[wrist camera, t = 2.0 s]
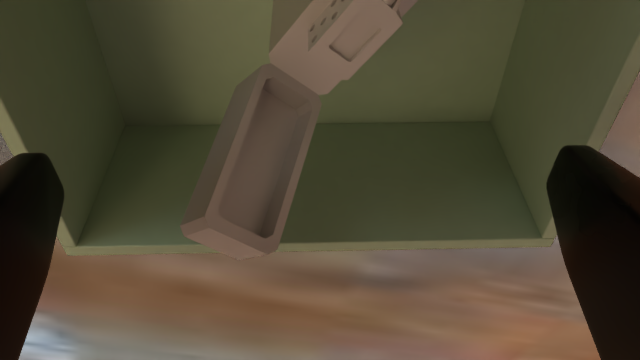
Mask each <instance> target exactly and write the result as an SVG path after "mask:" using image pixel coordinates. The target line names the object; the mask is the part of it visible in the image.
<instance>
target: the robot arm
mask: <svg viewBox="0 0 640 360" xmlns="http://www.w3.org/2000/svg"><path fill="white" fill-rule="evenodd" d="M546 190H547V195H548V199H549V203H550V207H551V211H552V215H553V219H554V223H555V227H556V231H557V235H558V239H559V243H560V247H561V251H562V255H563V258H564V262H565V265H566V268H567V271H568V274H569V277H570V279H571V282H572V284H573V287H574V290H575V292H576V295H577V298H578V300H579V303H580V305H581V308H582V311H583V313H584V316H585V319H586V321H587V324H588V327H589V329H590V332H591V334H592V337H593V340H594V342H595V345H596V348H597V350H598V353H599V355H600V358H601V360H640V178H639V177H637V176H636V175H634V174H633V173H631V172H630V171H628V170H626V169H625V168H623V167H622V166H620V165H619V164H617V163H615V162H614V161H612V160H611V159H609V158H608V157H606V156H604V155H603V154H601V153H600V152H598V151H597V150H595V149H593V148H592V147H590V146H588V145H566V146H564V147H562V148H561V149H560V151H559V153H558V155H557V157H556V160H555V162H554V164H553V167H552V169H551V171H550V173H549V176H548V178H547V183H546ZM64 195H65V194H64V188H63V185H62V183H61V181H60V179H59V176H58V174H57V172H56V170H55V168H54V166H53V164H52V162H51V160H50V158H49V157H48V156H47V155H46V154H44V153H20V154H18V155H16V156H14V157H13V158H11V159H10V160H8V161H7V162H5V163H4V164H2V165H1V166H0V360H18V359H19V356H20V353H21V350H22V347H23V345H24V342H25V339H26V336H27V333H28V330H29V327H30V325H31V322H32V319H33V316H34V313H35V310H36V307H37V305H38V302H39V299H40V296H41V293H42V290H43V287H44V284H45V281H46V278H47V275H48V271H49V267H50V263H51V259H52V254H53V249H54V245H55V240H56V235H57V231H58V226H59V222H60V217H61V212H62V208H63V203H64Z"/></svg>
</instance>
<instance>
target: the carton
mask: <svg viewBox="0 0 640 360" xmlns="http://www.w3.org/2000/svg"><path fill="white" fill-rule="evenodd" d="M272 10H273V0H0V132H1V134H2V136H3V138H4V140H5V141H6V143H7V145H8V147H9V149H10V151H11V153H12V154H13V156H16V155H18V154H20V153H44V154H46V155H47V156H48V157H49V158H50V160H51V162H52V164H53V166H54V168H55V170H56V172H57V174H58V176H59V179H60V181H61V183H62V185H63V188H64V194H65V195H64V203H63V208H62V212H61V217H60V222H59V226H58V231H57V235H56V236H57V237H58V239H59V241H60V243H61V245H62V246H63V249H64V250H65V252H66V254H67V255H68V256H79V255H134V254H189V253H221V252H218V251H216V250H214V249H212V248H209V247H207V246H205V245H202V244H200V243H198V242H195V241H193V240H191V239H189V238H186V237H184V235H183V232H182V230H181V228H180V224H181V222H182V219H183V217H184V214H185V212H186V209H187V207H188V205H189V202H190V200H191V197H192V195H193V192H194V190H195V187H196V185H197V182H198V180H199V177H200V175H201V172H202V170H203V167H204V165H205V162H206V160H207V157H208V155H209V152H210V150H211V147H212V145H213V142H214V140H215V137H216V135H217V132H218V130H219V127H220V125H221V122H222V120H223V117H224V115H225V112H226V110H227V108H228V105H229V103H230V100H231V98H232V95H233V93H234V90H235V88H236V86H237V85H238V84H239V83H241V82H242V81H243V80H244V79H246V78H247V77H248V76H249V75H251V74H252V73H253V72H254V71H256V70H257V69H258V68H259V67H261V66H262V65H265V64H269V63H270V59H269V44H270V33H271V21H272ZM401 18H402V21H403V24H402V25H401V26H400V27H399V28H398V29H397V30H396V31H395V32H394V33H393V35H392V36H391V37H390V38H389V39H388V40H387V41H386V42H385V43H384V44H383V45H382V46H381V47H380V48H379V49H378V50H377V51H376V52H375V53H374V54H373V55H372V56H371V57H370V58H369V59H368V60H367V61H366V62H365V63H364V64H363V65H362V66H361V67H360V68H359V69H358V70H357V71H356V72H355V73H354V74H353V76H352V77H351V78H350V79H349V80H341V81H340V82H339V83H338V84H337V85H336V86H335V87H334V88H333V89H332V90H331V91H330V92H329V93H328V94H323V95H319V98H320V100H321V103H322V105H321V109H320V112H319V115H318V118H317V122H316V125H315V128H314V131H313V135H312V138H311V141H310V144H309V148H308V151H307V154H306V158H305V161H304V164H303V167H302V171H301V174H300V177H299V180H298V184H297V187H296V190H295V193H294V197H293V200H292V203H291V206H290V210H289V213H288V216H287V220H286V223H285V226H284V229H283V233H282V236H281V239H280V242H279V246H278V249H277V250H276V251H274V252H298V251H353V250H408V249H462V248H517V247H550V246H551V245H552V243H553V241H554V238H555V237H556V235H557V231H556V227H555V223H554V219H553V215H552V211H551V207H550V203H549V199H548V195H547V190H546V183H547V178H548V176H549V173H550V171H551V169H552V167H553V164H554V162H555V160H556V157H557V155H558V153H559V151H560V149H561V148H562V147H564V146H566V145H588V146H590V147H592V148H593V149H595V150H597V151H598V152H599V150H600V148H601V146H602V144H603V142H604V140H605V138H606V136H607V134H608V132H609V130H610V128H611V126H612V124H613V122H614V120H615V118H616V116H617V114H618V112H619V110H620V109H621V107H622V105H623V103H624V101H625V99H626V97H627V95H628V93H629V91H630V89H631V87H632V85H633V83H634V81H635V79H636V77H637V75H638V73H639V71H640V0H418V1H417V2H416V3H415V4H414V5H413V6H412V7H411V8H410V9H409V10H408V11H407V12H406V13H405V14H404V15H403V16H402V17H401Z"/></svg>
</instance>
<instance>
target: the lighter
mask: <svg viewBox="0 0 640 360" xmlns="http://www.w3.org/2000/svg"><path fill="white" fill-rule="evenodd" d="M417 1H418V0H273V10H272V21H271V33H270V44H269V59H270V63H269V64H265V65H262V66H261V67H259V68H258V69H257V70H256V71H254V72H253V73H252V74H251V75H249V76H248V77H247V78H246V79H244V80H243V81H242V82H241V83H239V84H238V85H237V86H236V88H235V90H234V93H233V95H232V98H231V100H230V103H229V105H228V108H227V110H226V112H225V115H224V117H223V120H222V122H221V125H220V127H219V130H218V132H217V135H216V137H215V140H214V142H213V145H212V147H211V150H210V152H209V155H208V157H207V160H206V162H205V165H204V167H203V170H202V172H201V175H200V177H199V180H198V182H197V185H196V187H195V190H194V192H193V195H192V197H191V200H190V202H189V205H188V207H187V209H186V212H185V214H184V217H183V219H182V222H181V224H180V228H181V230H182V232H183V235H184V237H186V238H189V239H191V240H193V241H195V242H198V243H200V244H202V245H205V246H207V247H209V248H212V249H214V250H216V251H218V252H221V253H223V254H225V255H228V256H230V257H232V258H235V259H237V260H244V259H249V258H254V257H259V256H264V255H268V254H270V253H272V252H274V251H276V250H277V249H278V246H279V242H280V239H281V236H282V233H283V229H284V226H285V223H286V220H287V216H288V213H289V210H290V206H291V203H292V200H293V197H294V193H295V190H296V187H297V184H298V180H299V177H300V174H301V171H302V167H303V164H304V161H305V158H306V154H307V151H308V148H309V144H310V141H311V138H312V135H313V131H314V128H315V125H316V122H317V118H318V115H319V112H320V109H321V105H322V103H321V100H320V98H319V95H323V94H328V93H329V92H330V91H331V90H332V89H333V88H334V87H335V86H336V85H337V84H338V83H339V82H340V81H341V80H349V79H350V78H351V77H352V76H353V74H354V73H355V72H356V71H357V70H358V69H359V68H360V67H361V66H362V65H363V64H364V63H365V62H366V61H367V60H368V59H369V58H370V57H371V56H372V55H373V54H374V53H375V52H376V51H377V50H378V49H379V48H380V47H381V46H382V45H383V44H384V43H385V42H386V41H387V40H388V39H389V38H390V37H391V36H392V35H393V33H394V32H395V31H396V30H397V29H398V28H399V27H400V26H401V25H402V24H403V21H402V18H401V17H402V16H403V15H404V14H405V13H406V12H407V11H408V10H409V9H410V8H411V7H412V6H413V5H414V4H415V3H416V2H417Z"/></svg>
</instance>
